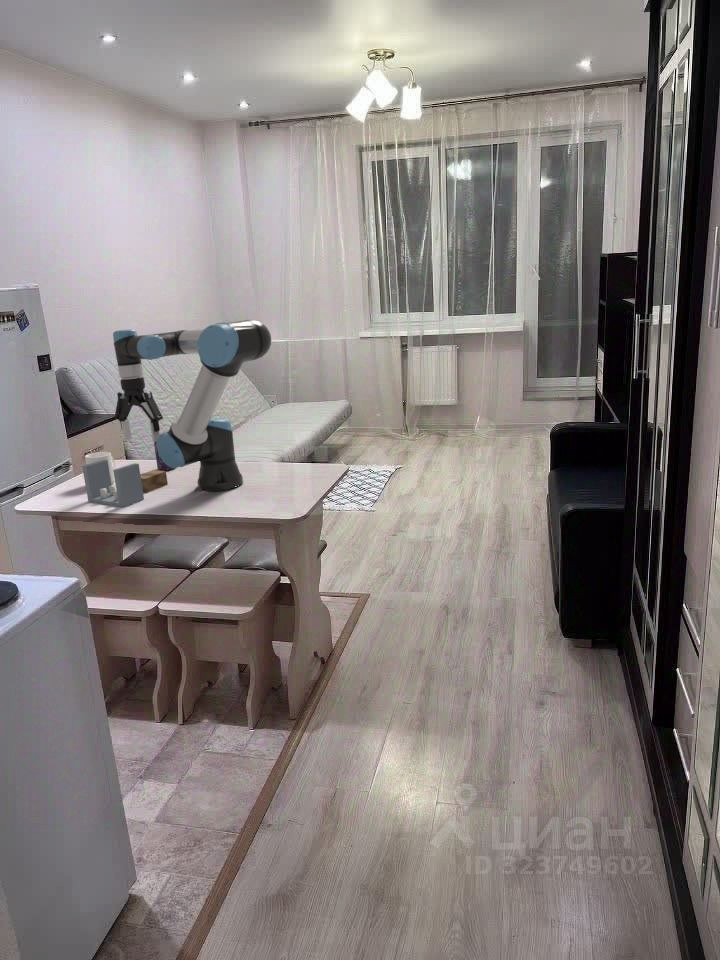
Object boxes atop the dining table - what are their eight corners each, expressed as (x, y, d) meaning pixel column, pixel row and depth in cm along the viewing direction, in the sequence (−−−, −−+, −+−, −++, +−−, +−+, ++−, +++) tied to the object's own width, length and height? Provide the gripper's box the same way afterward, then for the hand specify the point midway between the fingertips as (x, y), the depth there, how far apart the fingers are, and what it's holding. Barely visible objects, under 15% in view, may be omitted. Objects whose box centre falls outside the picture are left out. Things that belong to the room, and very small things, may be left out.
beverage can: (153, 470, 268) (149, 439, 265) (165, 465, 275) (161, 435, 271) (169, 471, 266) (165, 440, 262) (180, 466, 272) (176, 435, 269)
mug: (126, 478, 260) (122, 449, 257) (104, 487, 250) (99, 458, 247) (107, 477, 263) (103, 449, 260) (84, 486, 253) (79, 457, 250)
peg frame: (144, 499, 233) (138, 463, 229) (123, 507, 226) (117, 470, 223) (109, 493, 242) (103, 459, 238) (88, 501, 235) (82, 465, 231)
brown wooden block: (155, 483, 251) (153, 469, 250) (167, 485, 249) (165, 471, 247) (133, 491, 243) (131, 477, 242) (146, 493, 240) (144, 479, 239)
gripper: (167, 375, 233) (177, 439, 238) (114, 376, 245) (124, 436, 251) (150, 378, 226) (160, 444, 232) (97, 379, 239) (108, 441, 245)
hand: (142, 440), depth 241 cm, fingers open, 13 cm apart
